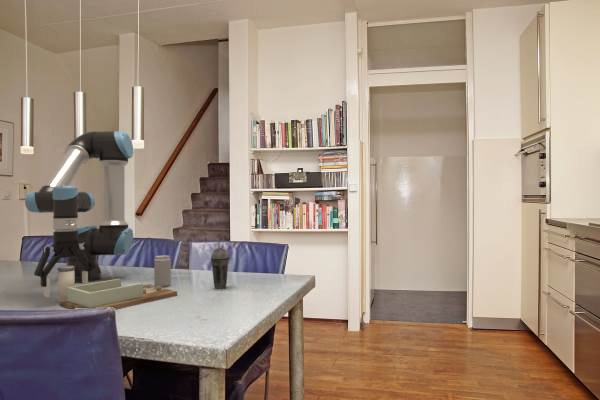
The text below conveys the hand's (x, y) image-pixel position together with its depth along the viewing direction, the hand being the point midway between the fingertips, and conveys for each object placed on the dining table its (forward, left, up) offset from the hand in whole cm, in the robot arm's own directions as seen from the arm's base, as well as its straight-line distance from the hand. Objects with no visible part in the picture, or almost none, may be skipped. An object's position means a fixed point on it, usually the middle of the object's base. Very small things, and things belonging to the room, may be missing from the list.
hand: (66, 292), depth 148 cm
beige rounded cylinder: (0, 0, -3) cm, 3 cm away
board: (+14, +12, -3) cm, 19 cm away
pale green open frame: (+14, +7, -1) cm, 15 cm away
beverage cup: (+27, +46, -3) cm, 53 cm away
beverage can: (+5, +35, -3) cm, 35 cm away
